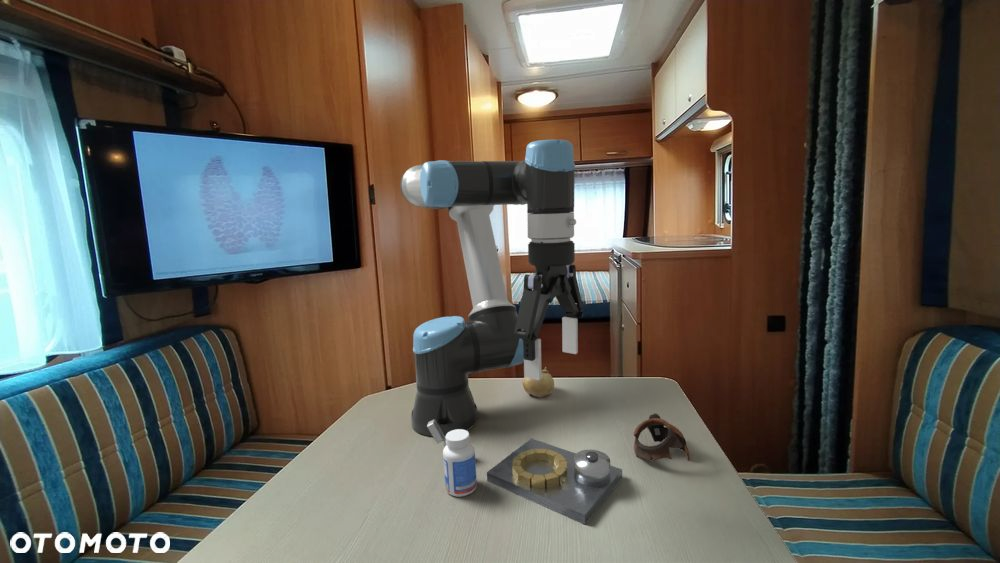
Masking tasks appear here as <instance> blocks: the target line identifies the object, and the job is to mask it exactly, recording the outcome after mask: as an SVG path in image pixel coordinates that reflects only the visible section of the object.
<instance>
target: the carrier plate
mask: <svg viewBox="0 0 1000 563" xmlns="http://www.w3.org/2000/svg"><path fill="white" fill-rule="evenodd" d="M622 479H623V468H620V467H616V466H613V465H611V459H610V456H608V454H606V453H604V452H603V451H600V450H596V449H582V450H579V451H577V452H573V451H569V450H567V449H564V448H561V447H558V446H556V445H552V444H549V443H548V442H547V443H546V442H543V441H540V440H538V439H535V438H532V437H531V438H530V439H528V440H527V441H526V442H524V443H523V444H521V445H520V446H519V447H518V448H517V449H515V450H514V451H513V452H511V453H510V454H509V455H507V456H506V457H505V458H503V459H502V460H501V461H499V462H497V464H495V466H493V467H492V468H491V469H489V470H488V471H487V472H486V481H487V482H489V483H492V484H494V485H496V486H498V487H500V488H503V489H505V490H507V491H509V492H512V493H514V494H516V495H517V496H520V497H523V498H524V499H527V500H529V501H531V502H533V503H536V504H538V505H541V506H543V507H545V508H547V509H550V510H551V511H554V512H557V513H558V514H560V515H563V516H564V517H567V518H568V519H569V518H570V519H572V520H574V521H576V522H577V523H578V522H579V523H581V524H583V525H586V524H587V523H588V522H589V521H590V520H591V518H592V516H593V515H594V514H595V513H596V512H597V511H598V509H599V507H601V505H602V504H603V503H604V501H605V500H606V499H607V498H608V497H609V496H610V494H611V493H612V492H613V490H614V489H615V488H616V486H617V485H618V484H619V483H620V482H621V480H622Z"/></svg>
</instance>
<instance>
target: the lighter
mask: <svg viewBox="0 0 1000 563" xmlns="http://www.w3.org/2000/svg"><path fill="white" fill-rule="evenodd" d="M427 427H428V429H429V431H430V432H431V434H432V436H431V437H433V439H434V440H435V442H436V444H439V443H442V442H443V449H444V448H445V446H446V436H444V434H443V432H442V431H441V429H440V427H439V426H438V424H437V422H436V420H435V419H434V420H432V421H430V422H428V424H427Z"/></svg>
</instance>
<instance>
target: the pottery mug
mask: <svg viewBox="0 0 1000 563" xmlns="http://www.w3.org/2000/svg"><path fill="white" fill-rule="evenodd" d="M646 429H647V430H648V432H649V433H650V435H651V438H652V440H653V441H654V442H655V443H656V442H657V443H658V444H656V445H646V444H645V445H644V444H643V443H642V442H640V440H639V437H640V435H641V433H642V432H643V431H644V430H646ZM633 436H634V443H633V450H634V454H635V456H636V457H637V458H641V459H643V460H647V461H653V460H654V461H657V460H661V459H668V460H672V459H673V458H672V455H671V449H670V448H672V449H678V450H681V451H683V453H685V456H686V458H687V462H690V461H691V456H690V455H691V454H690V449H689V447H688V445H687V440H686V437H685V436H684V434H683V432H682V431H681V430H680V429H679V428H678V427H676V426H675V425H673V424H672V423H669V422H668V421H667V420H666V419H663V418H661V416H660V414H658V413H653V414H650V415H649V417H648V418H647V419H646V420H644V421H642V422H641V423H639V424H638V425H637V427H636V428H635V429H634V432H633Z"/></svg>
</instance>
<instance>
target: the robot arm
mask: <svg viewBox="0 0 1000 563" xmlns="http://www.w3.org/2000/svg"><path fill="white" fill-rule="evenodd" d="M525 149H526V150H525V157H524V160H487V161H486V160H481V161H479V160H477V161H476V160H474V161H473V160H472V161H471V160H445V159H443V160H441V159H439V160H435V161H433V160H432V161H431V160H430V161H426V162H424V163H422V164H417V165H414V166H411V167H409V168H408V169H406V171H405V172H403V174H402V176H401V178H400V183H399V186H400V192H401V195H402V196H403V198H404V199H405V200H406V201H407V202H408V203H409V204H411V205H413V206H416V207H417V208H418V207H419V208H425V209H432V210H443V209H445V210H448V214H449V217H450V219H451V220H453V221H455V222H456V224H457V230H458V236H459V240H460V241H459V242H460V247H461V251H462V252H461V253H462V257H463V262H464V268H465V272H466V279H467V282H468V289H469V294H470V299H471V304H472V310H470V313H468V321H466V320H465V318H463V317H462V316H459V315H453V316H442V317H441V316H440V317H437V318H433V319H430V320H427V321H426V322H423V323H422V324H419V325H418V326H417V327H416V328H415V329H414V331H413V335H412V336H413V337H412V338H413V339H412V340H413V342H412V344H413V347H412V351H413V353H414V367H415V381H416V394H415V399H414V405H413V409H412V411H411V413H410V420H411V427H412V429H413V430H414V431H415V432H416V433H418V434H420V435H423V436H429V437H433V436H432V434H431V432H430V431H429V429H428V427H427V424H428V422H430V421H432V420H434V419H435V420H436V422H437V424H438V426H439V427H440V429H441V431H442V432H443V434H444V436H445V437H446V434H447V433H448V432H450V431H452V430H457V429H463V430H466V431H468V430H470V429H471V428H472V427H474V426H475V425H476V424H477V423H478V420H479V413H478V412H479V411H478V406H477V404H476V402H475V400H474V396H473V393H472V391H471V388H470V385H469V374H474V373H480V372H481V373H482V372H486V371H493V370H498V369H503V368H505V369H508V368H511V367H515V366H519V365H521V364H523V374H524V376H523V378H524V377H526V378H531V379H535V380H541V379H542V376H541V370H542V338H538V337H539V334H540V331H541V329H542V325H543V322H544V319H545V316H546V314H547V310H548V308H549V304H551V303H552V302H553V301H554V299H555V298H556V300H557V302H558V304H559V306H560V308H561V310H562V313H563V314H564V316H563V317H562V318H561V321H562V322H561V323H562V325H561V326H562V328H561V331H562V332H561V337H562V339H561V341H562V342H561V344H562V347H561V348H562V353H565V354H566V353H567V354H573V355H577V354H578V352H579V345H578V342H579V341H578V339H579V338H578V336H579V335H578V334H579V333H578V332H579V331H578V321H579V320H578V318H581V319H583V318H584V304H583V300H582V295H581V292H580V288H579V283H578V279H577V270H576V269H577V268H576V264H574V262H575V260H576V259H575V258H576V256H575V255H576V254H575V251H576V250H575V244H576V243H575V242H574V241H573V240H571V239H572V238H573V237H575V226H576V224H577V220H576V219H575V178H576V177H575V175H576V174H575V172H576V171H575V169H576V164H575V158H574V147H573V143H572V142H570V141H569V140H566V139H541V140H534V141H531V142H529V143H528V144H527V145H526V148H525ZM496 205H498V206H499V205H502V206H504V205H505V206H506V205H507V206H508V205H513V206H514V205H516V206H519V205H521V206H524V205H527V206H526V208H527V209H526V211H527V212H526V213H527V238H528V239H530V241H529V242H528V243H527V247H528V248H527V256H528V264H529V265H531V266H534V267H535V272H534V274H525V275H524V277H523V289H522V290H523V291H522V294H521V299H520V304H519V309H518V312H517V307H516V305H514V304H512V303H511V302H510V301H509V299H508V295H507V290H506V286H505V282H504V277H503V273H502V272H503V271H502V267H501V263H500V259H499V254H498V250H497V244H496V241H495V240H496V239H495V235H494V230H493V227H492V222H491V218H490V214H492V212H493V211H494V206H496Z"/></svg>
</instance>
